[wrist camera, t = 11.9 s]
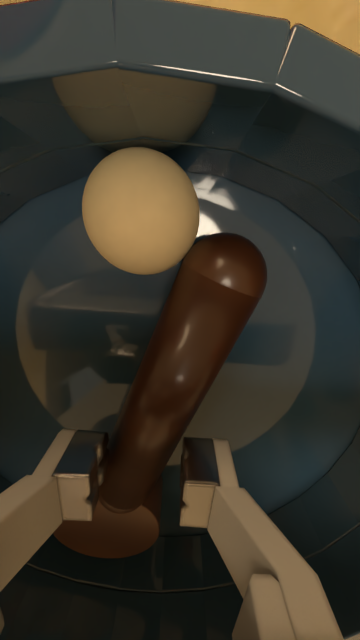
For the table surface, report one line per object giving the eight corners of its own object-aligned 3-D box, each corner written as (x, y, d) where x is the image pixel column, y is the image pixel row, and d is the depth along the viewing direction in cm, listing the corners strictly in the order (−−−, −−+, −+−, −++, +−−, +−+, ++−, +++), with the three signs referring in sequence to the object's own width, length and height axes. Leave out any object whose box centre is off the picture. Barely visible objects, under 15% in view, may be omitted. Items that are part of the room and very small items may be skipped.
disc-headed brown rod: (163, 202, 7) (156, 191, 5) (295, 263, 7) (344, 278, 5) (61, 496, 12) (34, 558, 10) (145, 517, 13) (137, 579, 10)
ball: (49, 125, 5) (158, 138, 7) (69, 253, 7) (149, 238, 9) (128, 167, 4) (239, 170, 5) (124, 311, 6) (206, 278, 7)
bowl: (303, 541, 14) (363, 690, 10) (-18, 518, 13) (-123, 668, 9) (473, 191, 8) (924, 120, 3) (-127, 108, 7) (-761, -160, 2)
